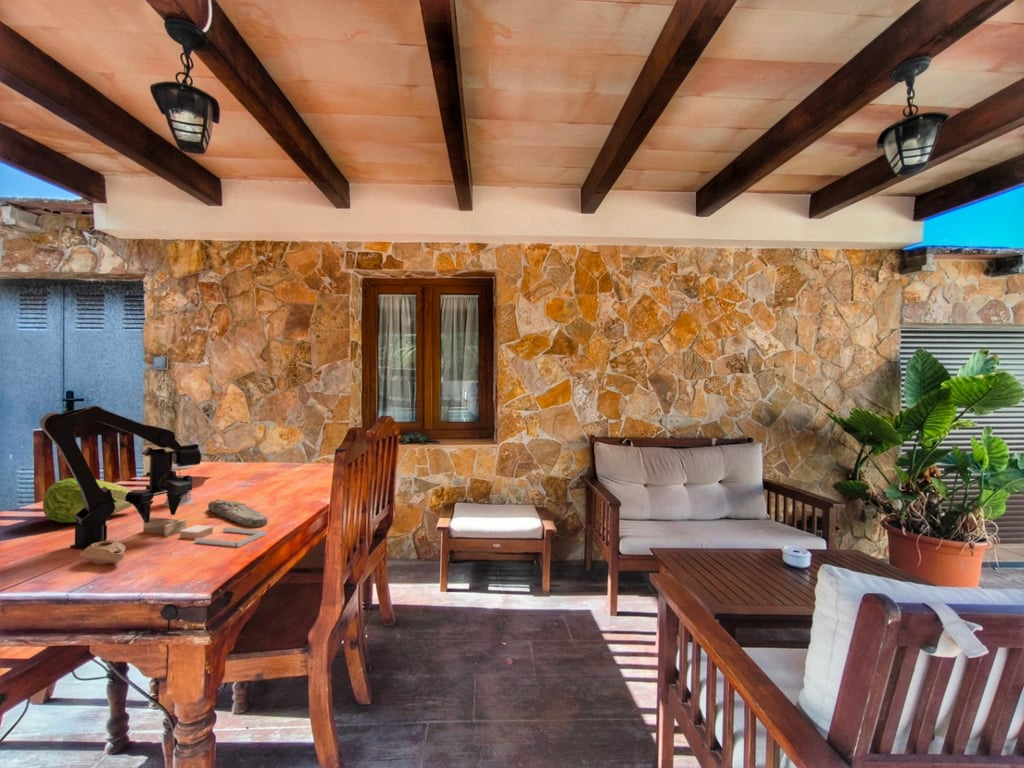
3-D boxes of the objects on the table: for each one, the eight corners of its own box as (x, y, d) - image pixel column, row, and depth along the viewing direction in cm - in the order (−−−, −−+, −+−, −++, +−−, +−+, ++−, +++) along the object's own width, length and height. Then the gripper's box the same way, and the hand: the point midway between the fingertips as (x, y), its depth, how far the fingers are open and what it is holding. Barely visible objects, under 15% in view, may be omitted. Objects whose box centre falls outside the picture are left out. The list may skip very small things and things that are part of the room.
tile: (197, 540, 150) (197, 532, 150) (179, 538, 151) (180, 530, 151) (212, 534, 156) (212, 526, 156) (195, 532, 157) (196, 525, 157)
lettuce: (139, 521, 170) (144, 477, 172) (40, 525, 153) (49, 477, 155) (130, 518, 182) (136, 478, 184) (38, 522, 165) (46, 477, 167)
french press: (195, 499, 197) (196, 435, 197) (191, 506, 187) (192, 439, 187) (165, 501, 193) (165, 436, 193) (160, 508, 183) (161, 439, 182)
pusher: (167, 537, 152) (167, 524, 152) (136, 534, 154) (136, 521, 154) (186, 530, 158) (186, 517, 158) (156, 527, 161) (156, 515, 160)
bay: (238, 547, 144) (238, 543, 144) (194, 542, 147) (194, 538, 147) (266, 534, 156) (266, 530, 156) (225, 530, 159) (225, 527, 159)
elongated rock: (244, 535, 160) (275, 529, 168) (246, 518, 160) (276, 514, 168) (199, 509, 181) (228, 505, 189) (201, 495, 181) (230, 491, 189)
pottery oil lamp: (100, 572, 123) (84, 547, 123) (88, 576, 131) (73, 553, 130) (139, 550, 130) (124, 527, 130) (126, 555, 138) (112, 533, 137)
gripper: (156, 475, 145) (155, 529, 145) (207, 465, 164) (206, 512, 164) (124, 473, 147) (123, 526, 147) (177, 463, 166) (177, 510, 166)
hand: (160, 518), depth 156 cm, fingers open, 9 cm apart
